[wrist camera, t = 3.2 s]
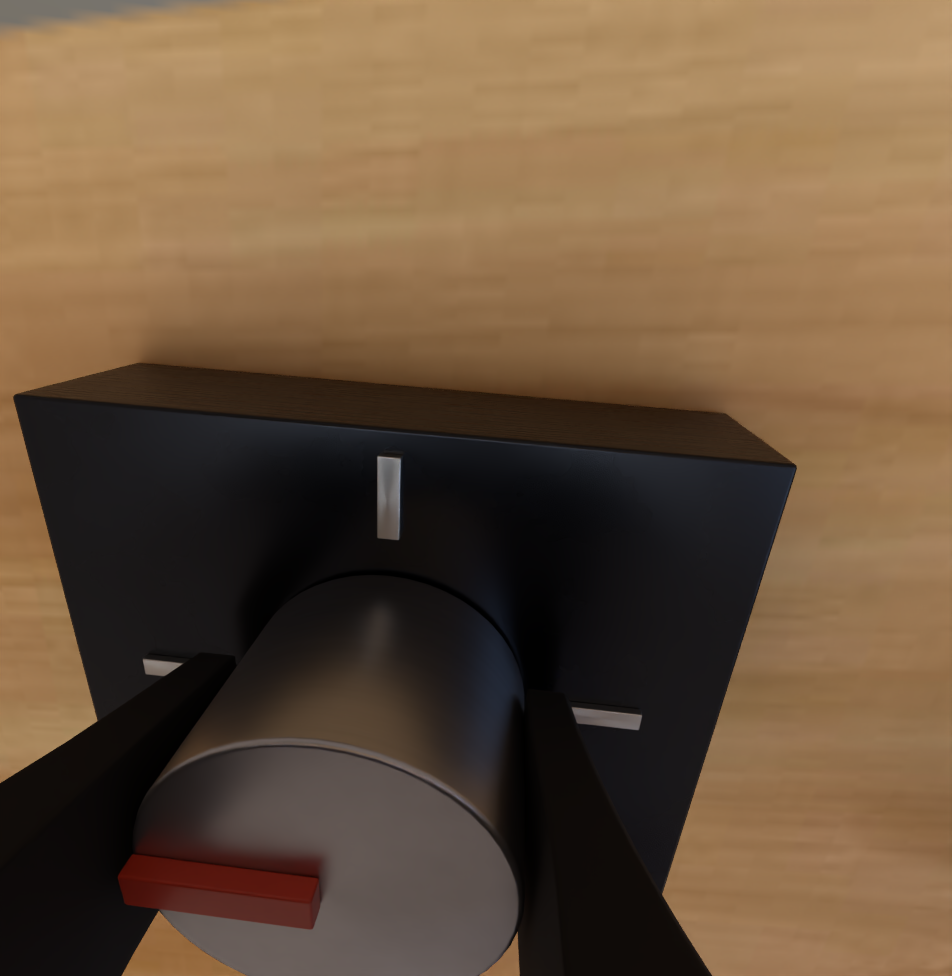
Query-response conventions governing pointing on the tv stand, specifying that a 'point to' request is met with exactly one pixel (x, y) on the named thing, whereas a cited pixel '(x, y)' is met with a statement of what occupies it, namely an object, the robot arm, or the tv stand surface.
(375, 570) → the dial panel
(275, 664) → the programme dial
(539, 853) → the robot arm
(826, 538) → the tv stand surface
